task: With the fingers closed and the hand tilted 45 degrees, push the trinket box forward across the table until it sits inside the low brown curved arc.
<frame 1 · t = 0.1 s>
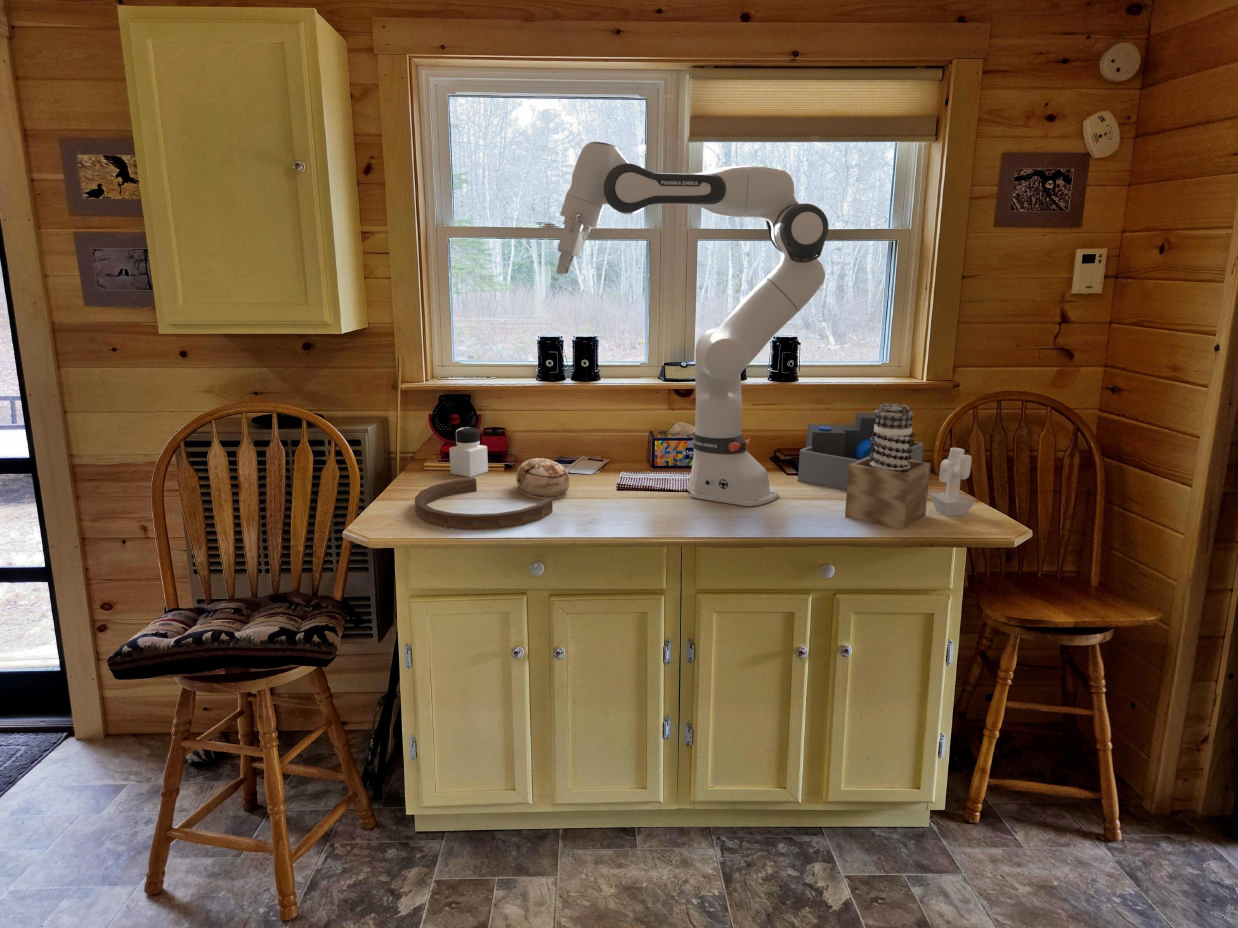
hand: (561, 273, 190), 52 cm above the table, tool tilted 20°, fingers open, 8 cm apart
medicine bottle: (469, 473, 217), on the table
trinket box: (543, 492, 201), on the table
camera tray: (860, 476, 215), on the table
camera: (856, 478, 216), resting in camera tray
figurine: (950, 513, 185), on the table
wooden box: (885, 516, 182), on the table
brown curved arc: (486, 507, 187), on the table
decorative candle: (885, 516, 183), resting in wooden box
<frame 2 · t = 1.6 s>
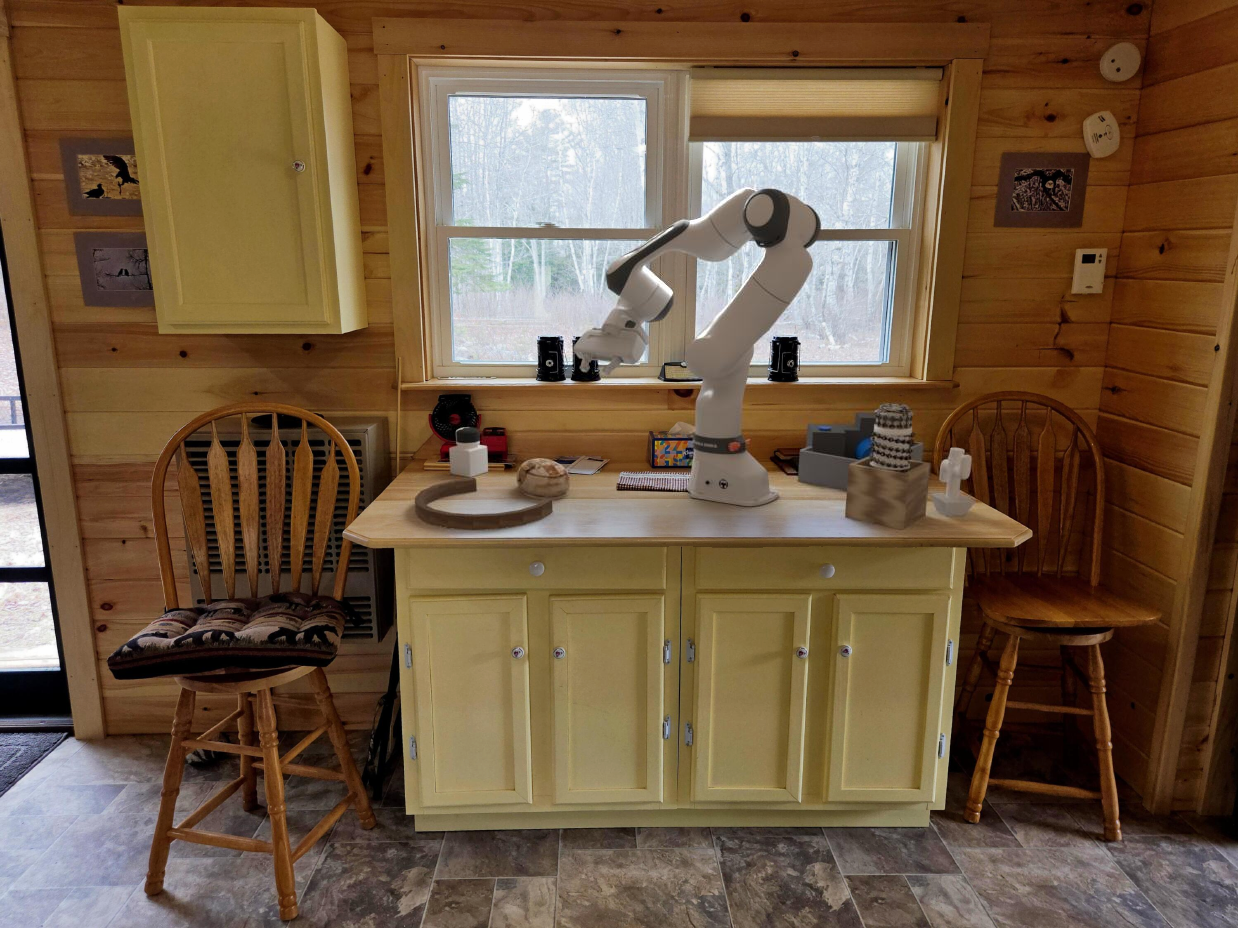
hand: (594, 371, 207), 27 cm above the table, tool tilted 45°, fingers open, 6 cm apart
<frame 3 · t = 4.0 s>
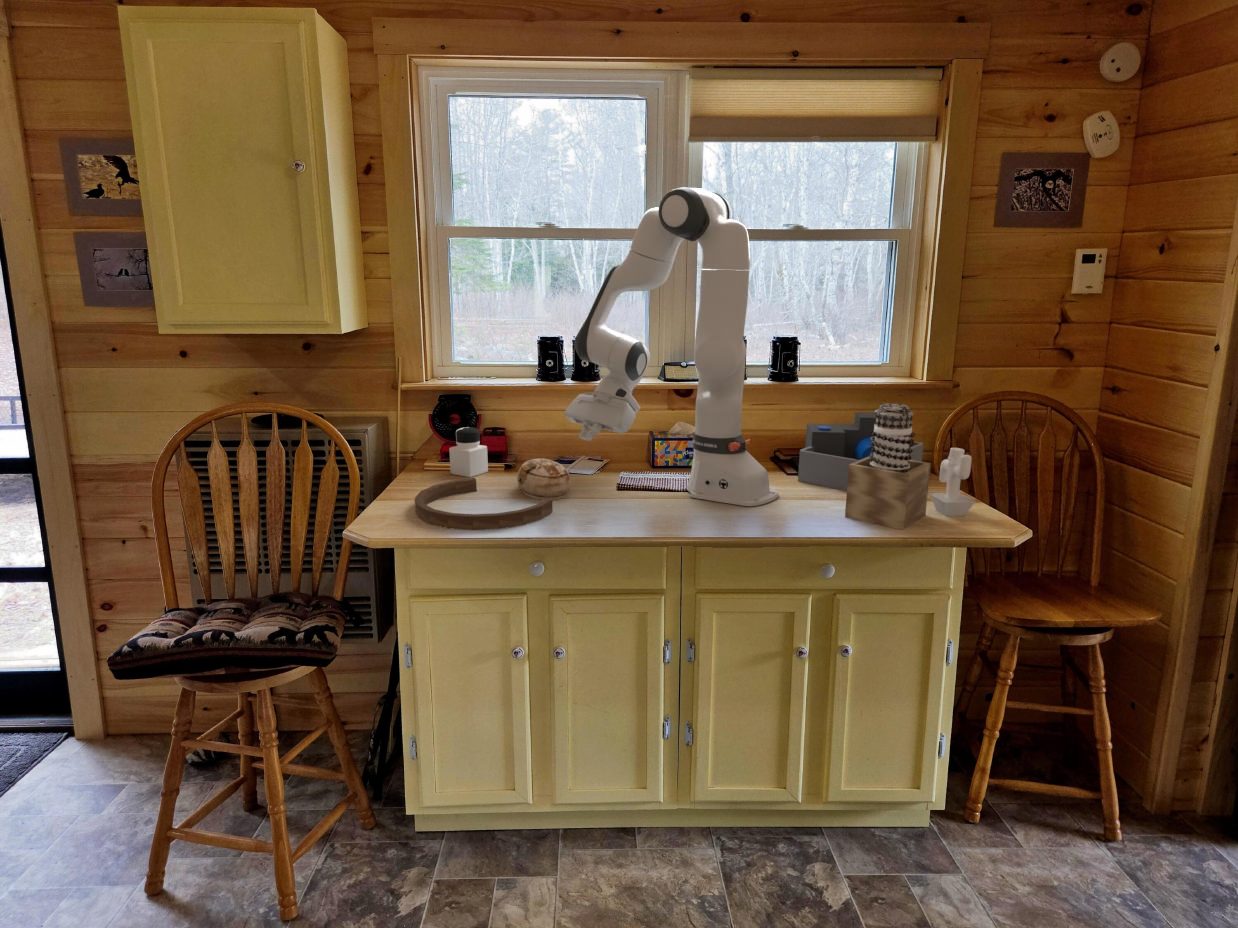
hand: (584, 438, 209), 11 cm above the table, tool tilted 45°, fingers closed
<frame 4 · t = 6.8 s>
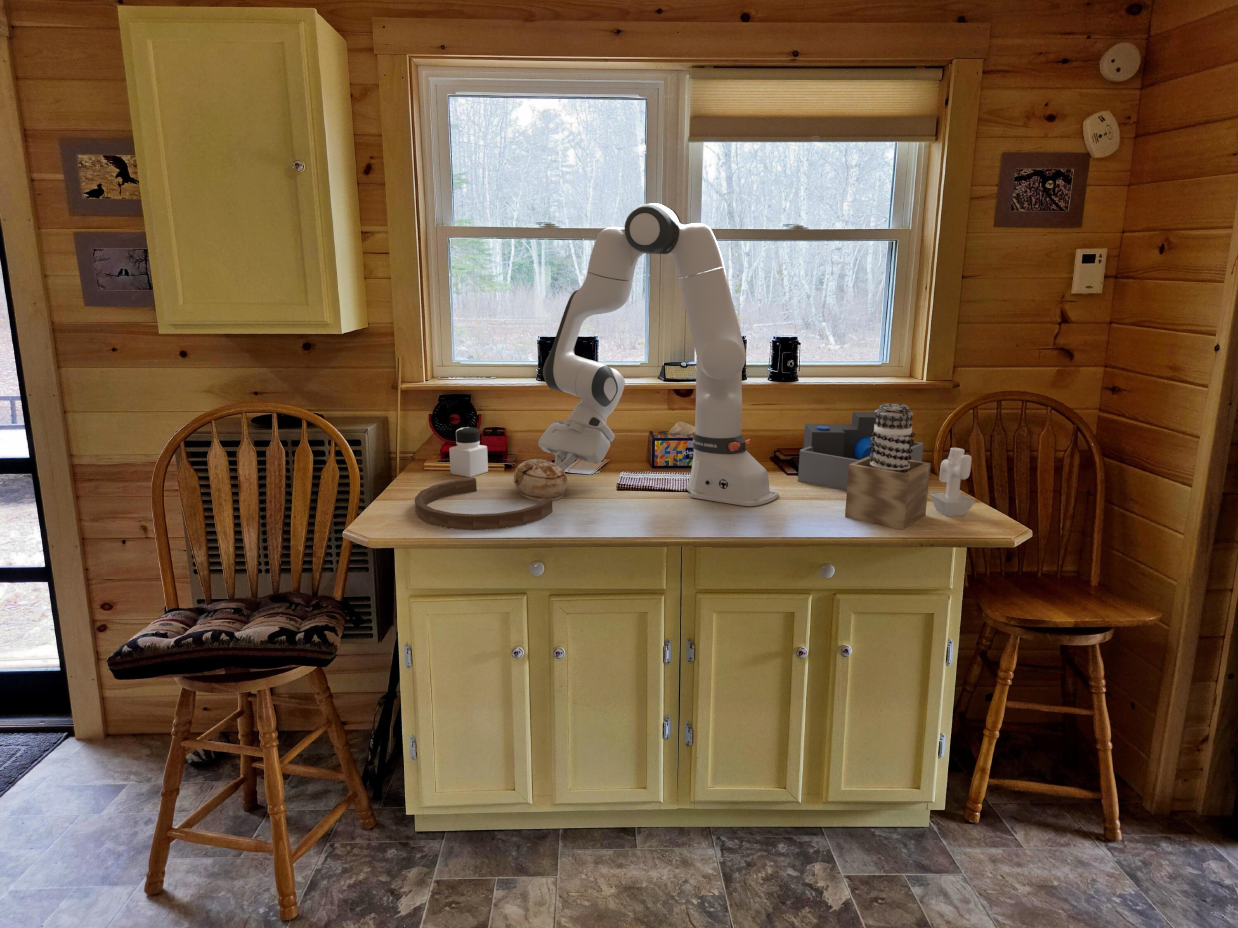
hand: (557, 469, 203), 4 cm above the table, tool tilted 45°, fingers closed
trinket box: (540, 493, 199), on the table, touching gripper
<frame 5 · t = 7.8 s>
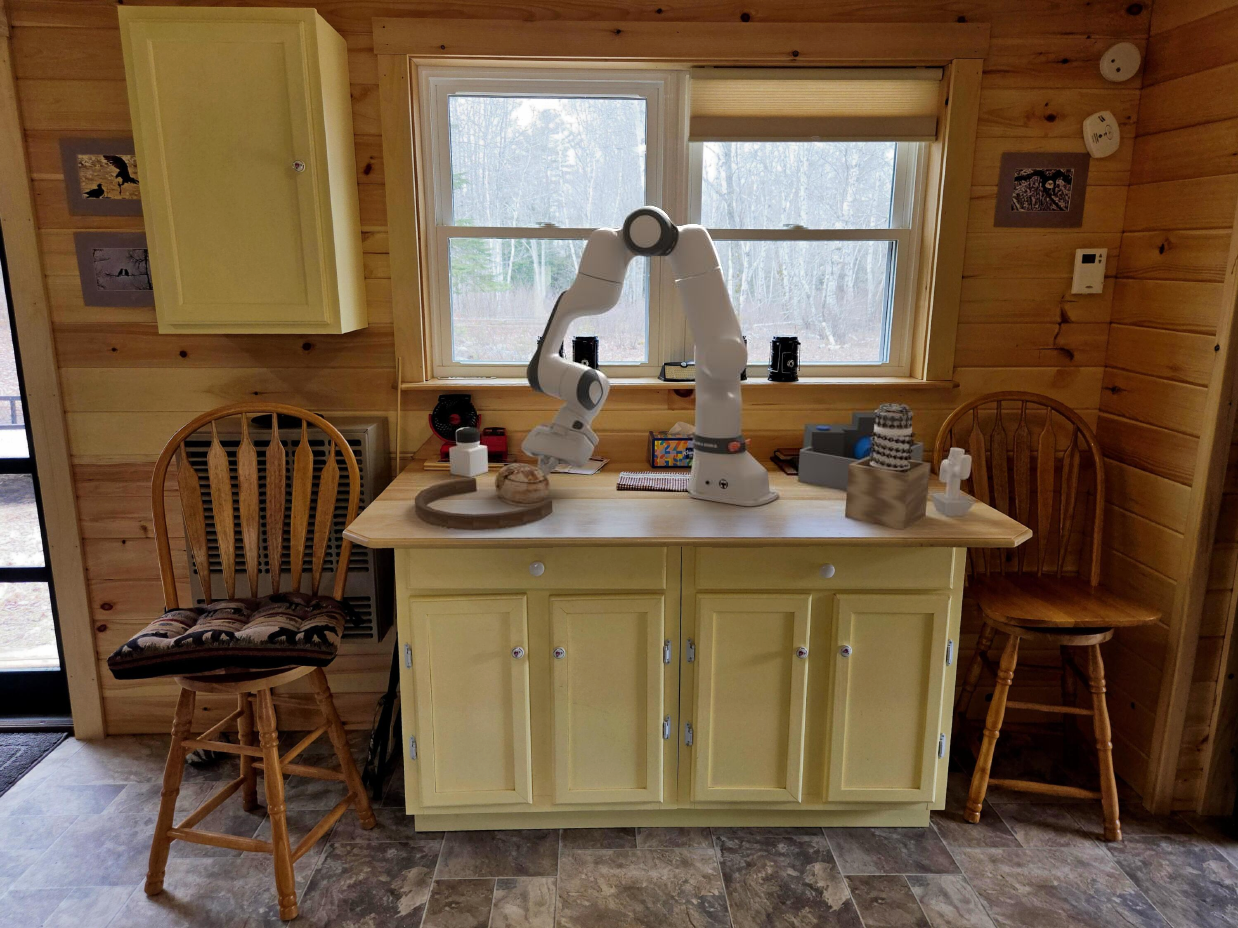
hand: (540, 473, 199), 4 cm above the table, tool tilted 45°, fingers closed
trinket box: (522, 498, 195), on the table, touching gripper
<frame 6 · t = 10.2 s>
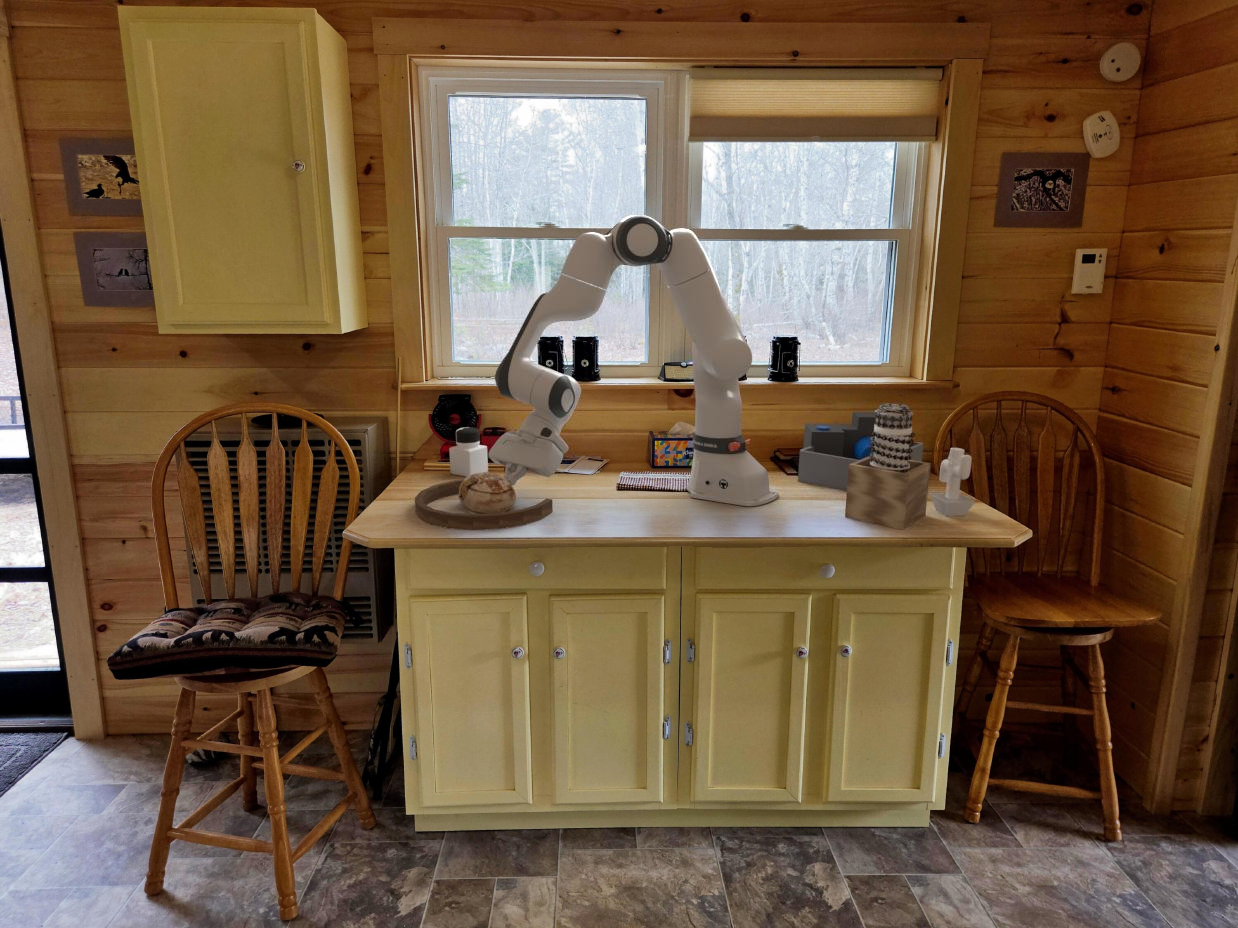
hand: (507, 483, 191), 4 cm above the table, tool tilted 45°, fingers closed
trinket box: (487, 509, 187), resting in brown curved arc, touching gripper
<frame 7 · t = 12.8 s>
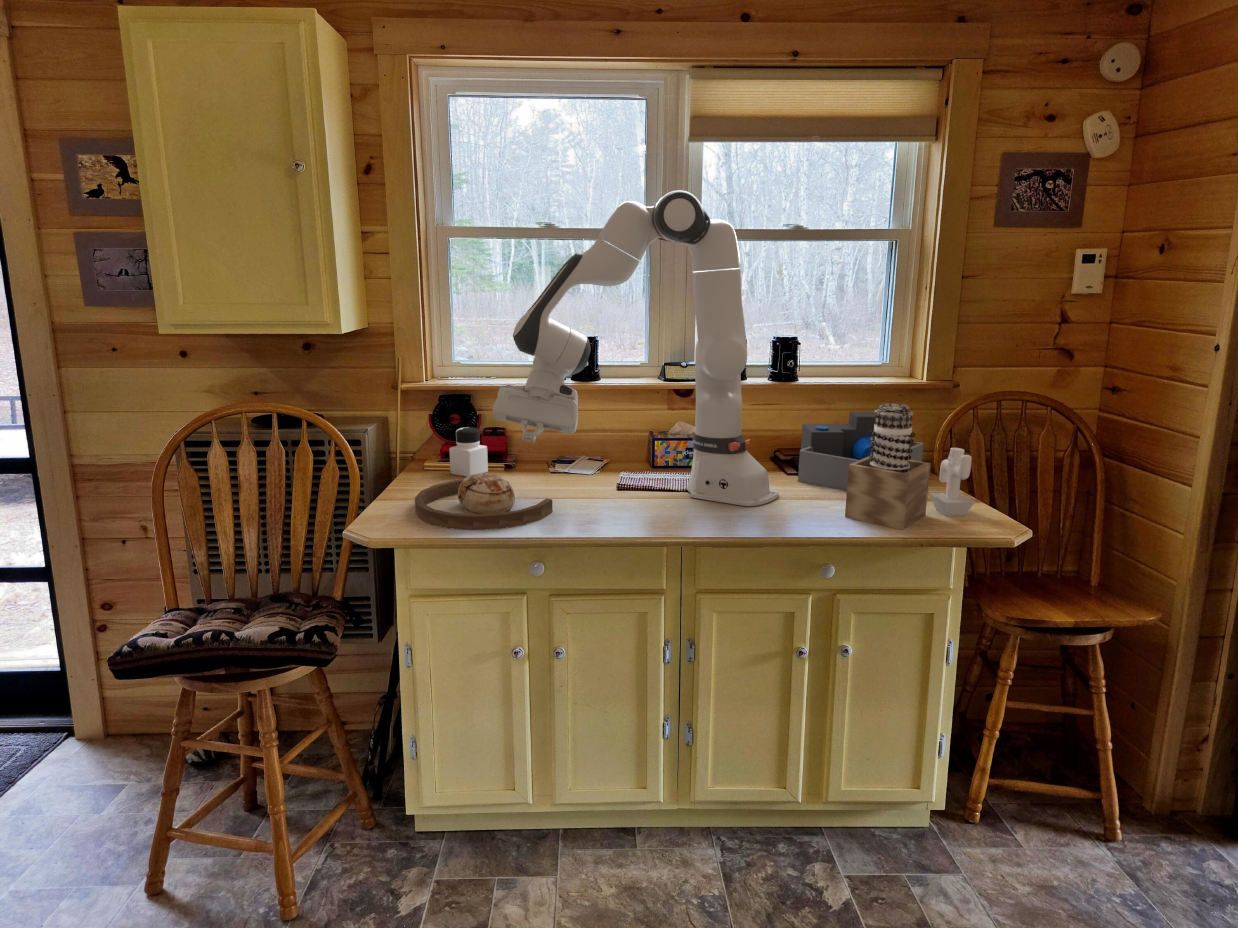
hand: (528, 440, 191), 14 cm above the table, tool tilted 45°, fingers closed
trinket box: (486, 509, 187), resting in brown curved arc
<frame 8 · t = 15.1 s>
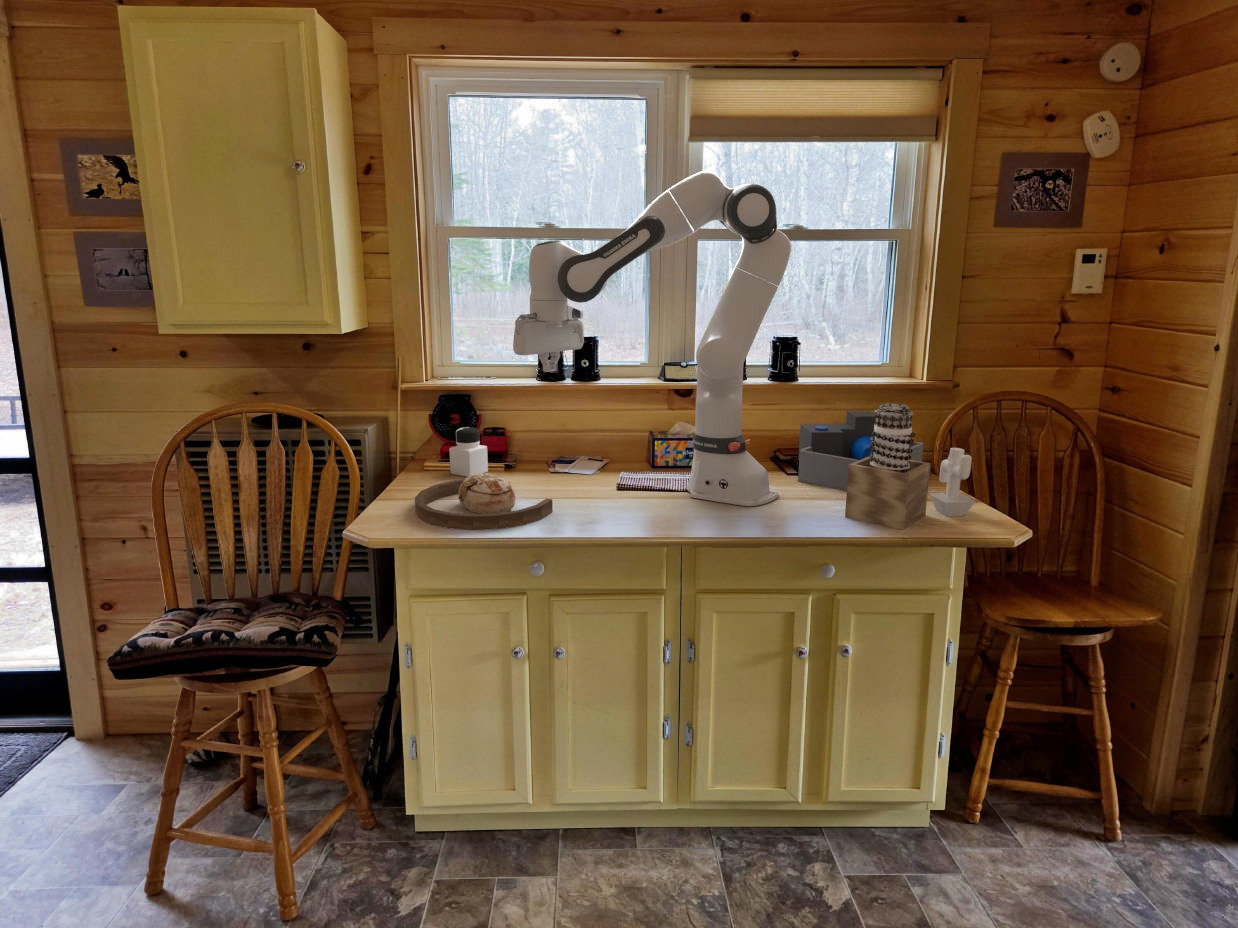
hand: (549, 371, 195), 29 cm above the table, tool pointing down, fingers closed
at the end: trinket box inside the target area on the brown curved arc (0.8 cm from its centre), point 0.0 cm above the brown curved arc's base; trinket box moved 18.2 cm from its start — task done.
